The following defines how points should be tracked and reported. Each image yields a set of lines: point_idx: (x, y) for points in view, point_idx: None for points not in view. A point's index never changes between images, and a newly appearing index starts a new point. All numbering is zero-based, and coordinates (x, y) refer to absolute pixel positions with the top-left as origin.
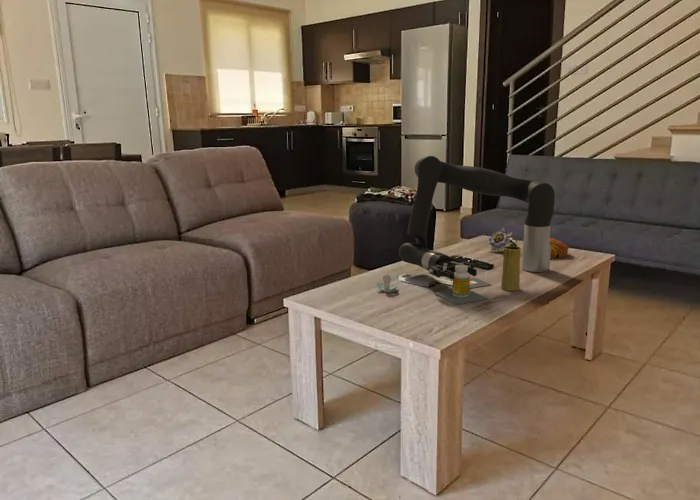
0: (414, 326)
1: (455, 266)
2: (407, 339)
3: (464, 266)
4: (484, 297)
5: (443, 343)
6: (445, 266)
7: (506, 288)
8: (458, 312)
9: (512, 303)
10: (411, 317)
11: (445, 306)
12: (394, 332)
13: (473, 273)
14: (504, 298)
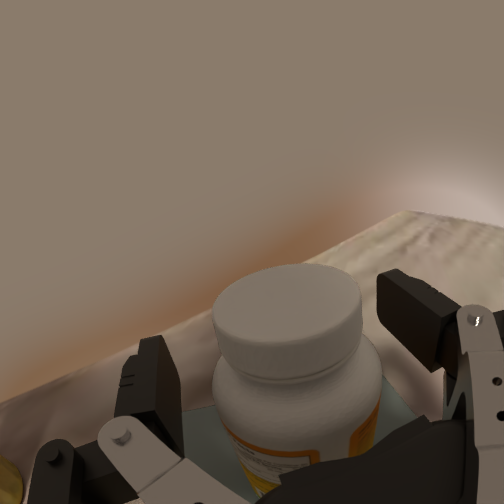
0: (470, 243)
1: (358, 286)
2: (461, 218)
3: (253, 291)
4: (189, 419)
5: (400, 216)
6: (484, 353)
7: (16, 475)
8: (364, 309)
9: None
10: (497, 271)
11: None
12: (494, 228)
13: (173, 372)
14: (104, 415)
